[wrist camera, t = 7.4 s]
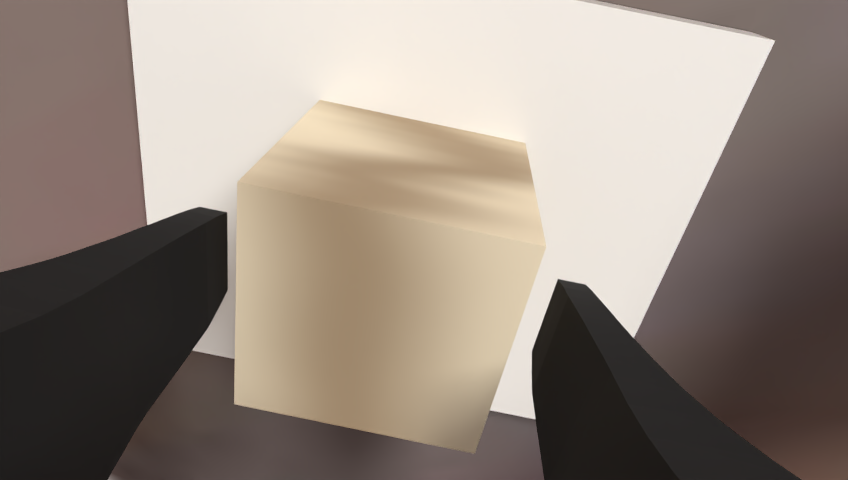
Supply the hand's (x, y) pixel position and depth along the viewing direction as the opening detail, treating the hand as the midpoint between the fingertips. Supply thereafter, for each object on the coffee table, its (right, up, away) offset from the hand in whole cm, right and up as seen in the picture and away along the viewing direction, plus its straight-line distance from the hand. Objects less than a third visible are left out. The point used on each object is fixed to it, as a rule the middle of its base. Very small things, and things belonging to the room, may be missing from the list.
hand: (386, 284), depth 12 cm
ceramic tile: (0, +2, +4) cm, 4 cm away
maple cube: (0, +2, +2) cm, 3 cm away
